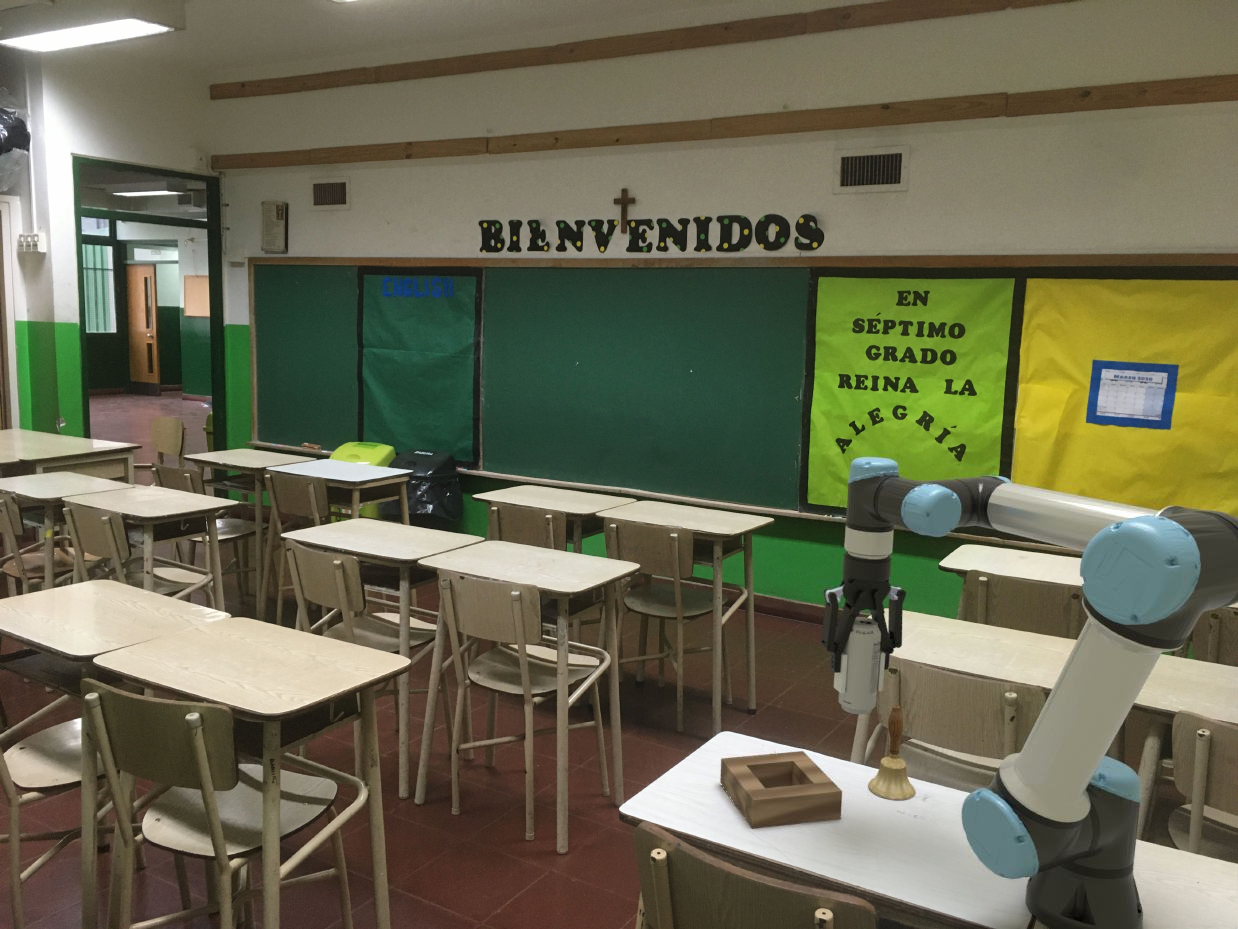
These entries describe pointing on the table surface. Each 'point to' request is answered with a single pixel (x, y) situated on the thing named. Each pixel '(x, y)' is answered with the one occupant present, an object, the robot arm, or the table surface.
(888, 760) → the hand bell
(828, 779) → the square wooden frame
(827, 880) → the table surface
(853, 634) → the energy drink can
